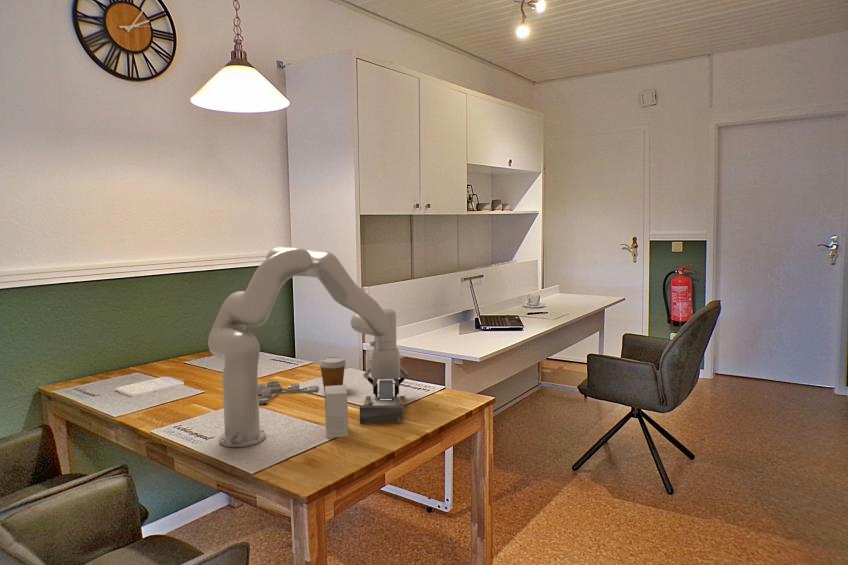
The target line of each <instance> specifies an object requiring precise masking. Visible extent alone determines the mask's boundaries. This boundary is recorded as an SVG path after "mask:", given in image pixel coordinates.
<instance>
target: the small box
mask: <svg viewBox="0 0 848 565" xmlns="http://www.w3.org/2000/svg"><path fill="white" fill-rule="evenodd" d="M348 403H349V402H348V390H347V386H346V384H343V385H336V386H325V392H324V404H325V405H324V413H325V414H324V415H325V431H326V432H325V433H326V438H327V439H329V438H330V439H331V438H343V437H349V411H348V410H349V409H348V408H349V407H348Z"/></svg>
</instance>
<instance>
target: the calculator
mask: <svg viewBox="0 0 848 565" xmlns="http://www.w3.org/2000/svg"><path fill="white" fill-rule="evenodd" d="M184 383H185V382H184V381H182V380H180V379H176V378H173V377H170V376H162V377H157V378H153V379H148V380H144V381H140V382H135V383H134V382H133V383H130V384H127V385H122V386H117V387H116V388H115V392H116V391H118V392H117V393H119V392H120V393H119V394H121V393H123V394H122V395H124V394H125V396H126V395H128V396H127V397H129V396H137V395H141V394H145V395H147V394H146V393H149V394H151V393H150V392H153V393H155V392H154V391H157V392H159V391H158V390H161V391H163V390H162V389H165V388H169V389H171V388H170V387H173V388H175V387H174V386H177V385H181V386H184ZM165 390H166V389H165ZM141 396H142V395H141ZM137 397H138V396H137Z"/></svg>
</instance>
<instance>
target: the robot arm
mask: <svg viewBox="0 0 848 565" xmlns="http://www.w3.org/2000/svg"><path fill="white" fill-rule="evenodd" d="M293 277H311V278H316V279H317V280H318V281H319V282H320V284H321V285H323V288H324V289H325V290H326V291H327V292H328V293H329V295H330V296H331V298H332V299H333V301H335V302H336V303H337V304H339V305H340V306H342V307H344V308H346V309H348V310H350V311H352V312H354V314H353V315H352V316H351V318H350V326H351V329H352V330H354V331H355V332H357V333H360V334H363V335H368V336H373V337H374V340H373V341H371V342H370V343H369V344H370V345H369V346H370V347H373V349H372V350H371V356H370V367H369V368H368V369H367V370H366V371H365V372H364V373H363V377H364V379H366V380H367V381H368V382H369V383H370V385H371V386H372V390H373V392H372V394H373V395H374V398H378V395H379V383H378V380H393V382H394V398H398V395H399V394H400V385H401V384H402V383H403V382H404V381H405V380H406V379H407V378H408V377H409V372H408V371H406V370H405V369H404V368H403V367H402V366H401V357H400V350H399V348H397V313H396V311H395V310H393V309H391V308H390V309H389V308H382V306H381V305H380V304H379V303H378V302H377V301H376V300H375V299H374V298H373V297H372V296H370V295H369V293H367V292H366V291H364V290H363V289H362V288H361V287H359V286H358V285H357V284H356V283H355V281H354V279H352V277H351V276H350V274H349V273H348V272H347V270H346V269H345V267H344V265H343V264H342V263H341V262H340V260H339V259H338V258H337V256H336V255H335V254H334V253H332V252H329V251H327V250H326V251H325V250H310V249H305V248H301V247H293V246H289V247H288V246H276V247H274V248H272V249H270V250H269V252H268V253H267V254H266V257H265V260H264V261H263V262H262V263H261V264H260V265H259V266H258V267H257V269H256V270H255V271H254V274H253V275H252V278H251V279H250V281H249V283H248V286H247V287H246V289H245V291H244V290H243V291H242V290H239V291H235V292H233V293H231V294H230V295H229V296H227V297H226V298H225V300H224V302H223V303H222V305H221V307H220V309H219V311H218V314H217V317H216V318H215V321H214V323H213V325H212V328H211V330H210V333H209V335H208V341H207V345H208V348H209V351H210V352H211V354H212V355H214V357H217V358H220V359H221V360H224V366H223V370H222V378H221V380H222V381H221V382H222V386H221V387H222V398H223V399H222V400H223V419H224V420H223V421H224V424H223V425H224V432H223V433H222V434H221V435H220V436H219V437H218V438H219V444H220V445H222V446H224V447H226V448H227V447H229V448H243V447H249V446H250V447H251V446H253V445H254V446H255V445H256V444H260V443H261V442H262V441H264V440H265V439H266V438H267V437H266V436H267V435H266V431H265V430H264V429H262V428H260V426H261V425H260V405H259V404H260V403H259V393H258V385H259V380H258V375H259V374H258V373H259V372H258V369H259V368H258V367H259V360H260V352H261V351H260V343H259V340H258V338H257V337H256V336H255V335H254V334H253V333H251V332H250V331H248V330H246V328H247V327H250V328H259V327H261V326H264V325H265V323H266V322H267V321H268V319H269V317H270V314H271V311H272V309H273V306H274V304H275V301H276V299H277V296H278V295H279V293H280V290H281V289H282V287H283V286H284V284H285V283H286V282H287V281H289V280H290V279H292V278H293ZM401 374H402V376H401Z"/></svg>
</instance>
